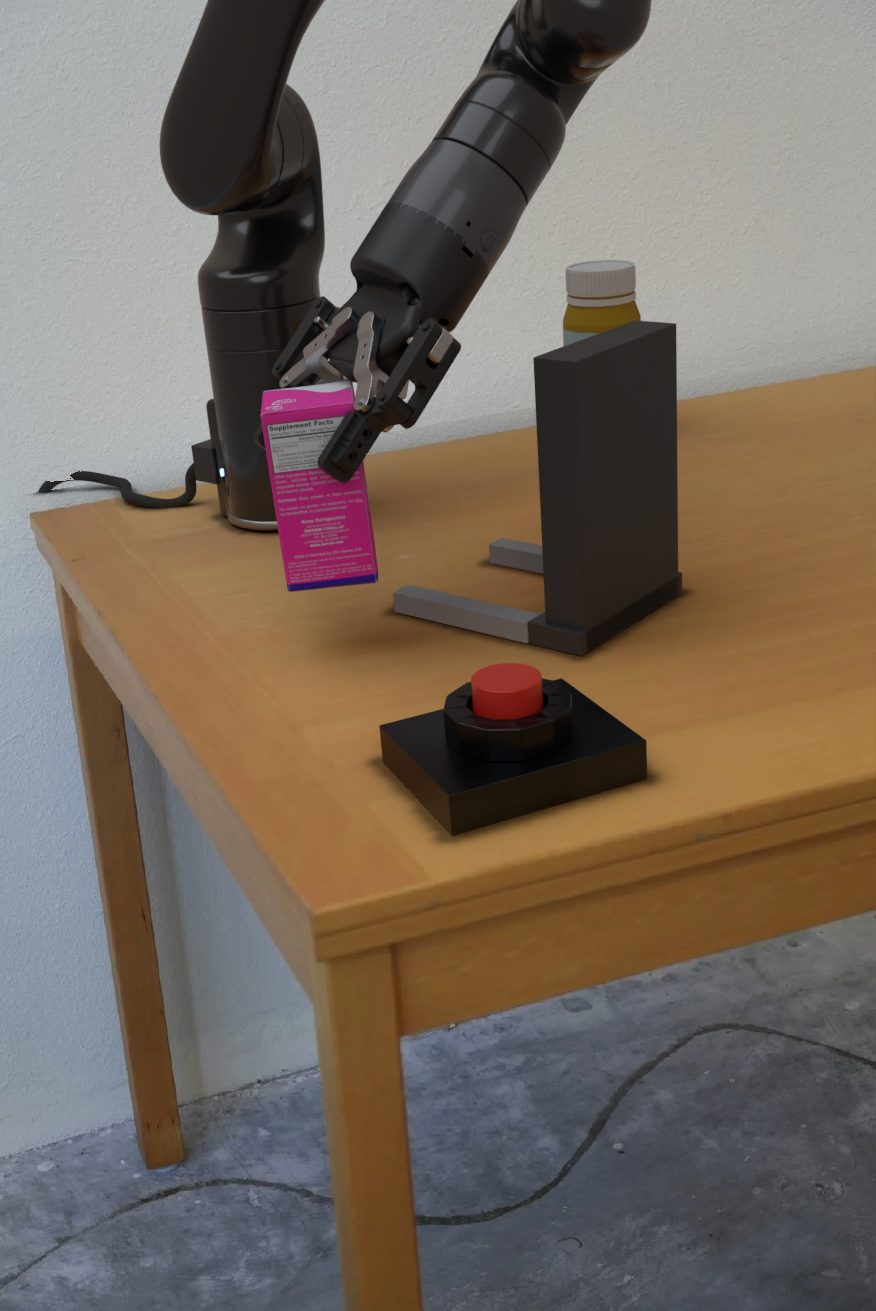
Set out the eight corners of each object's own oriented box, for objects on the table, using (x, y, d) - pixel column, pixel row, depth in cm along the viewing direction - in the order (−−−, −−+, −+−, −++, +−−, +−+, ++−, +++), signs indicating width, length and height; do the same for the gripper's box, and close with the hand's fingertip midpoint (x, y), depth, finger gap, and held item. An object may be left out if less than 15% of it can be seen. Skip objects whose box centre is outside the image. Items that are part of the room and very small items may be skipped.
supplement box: (284, 562, 95) (261, 387, 91) (375, 553, 96) (357, 378, 91) (283, 594, 90) (258, 410, 86) (379, 584, 90) (360, 400, 86)
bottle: (641, 419, 139) (639, 257, 133) (643, 439, 133) (640, 270, 127) (567, 422, 140) (561, 261, 134) (565, 442, 134) (559, 274, 128)
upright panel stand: (394, 612, 99) (370, 343, 92) (503, 556, 107) (488, 307, 100) (580, 657, 90) (570, 363, 83) (683, 592, 98) (681, 321, 91)
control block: (452, 835, 72) (446, 762, 70) (382, 761, 79) (375, 694, 78) (647, 778, 75) (646, 708, 74) (563, 713, 83) (560, 648, 81)
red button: (491, 729, 74) (489, 698, 73) (461, 703, 77) (459, 672, 76) (555, 712, 75) (554, 681, 74) (523, 687, 78) (521, 657, 77)
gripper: (338, 192, 93) (199, 409, 92) (467, 203, 82) (311, 450, 81) (415, 265, 98) (284, 472, 97) (547, 284, 87) (401, 518, 86)
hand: (297, 461), depth 89 cm, fingers closed on supplement box, 7 cm apart
